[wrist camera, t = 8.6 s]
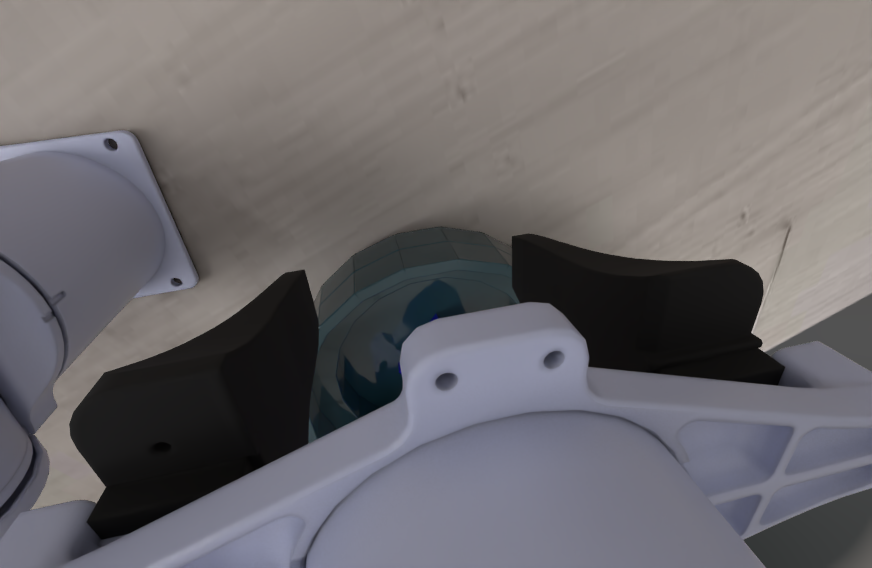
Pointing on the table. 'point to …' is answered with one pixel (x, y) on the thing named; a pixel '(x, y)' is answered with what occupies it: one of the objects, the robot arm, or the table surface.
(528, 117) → the table surface
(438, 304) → the bowl
